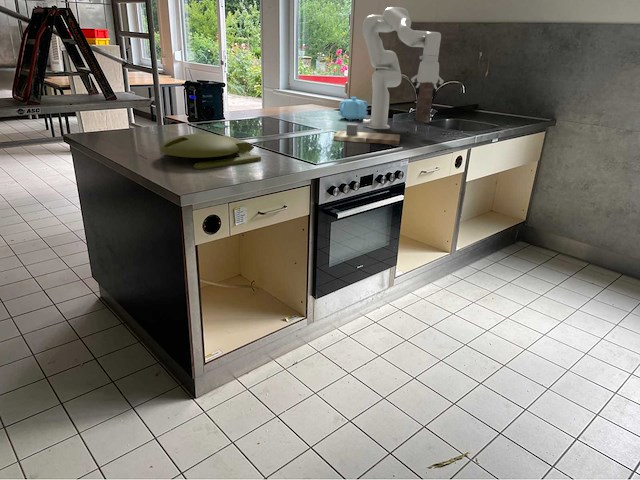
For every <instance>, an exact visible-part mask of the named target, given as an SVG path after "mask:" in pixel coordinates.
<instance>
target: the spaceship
mask: <svg viewBox="0 0 640 480" xmlns="http://www.w3.org/2000/svg"><path fill="white" fill-rule="evenodd" d="M254 148H255V146H254V145H252V144H251V143H250V142H247V141H244V140H241V139H238V138H235V137H232V136H229V135H227V134H225V135H220V134H219V135H217V134H211V133H190V134H184V135H179V136H175V137H172V138H169V139H168V140H166V141H164V142H163V143H162V144H161V145H160V147H159V150H160V152H161V153H162V154H164V155H165V156H167V157H181V158H195V159H196V158H197V159H198V158H202V159H203V158H216V157H223V156H228V155H229V156H231V157H230V158H229V157H227V158H221V159H216V160H209V161H207V160H206V161H200V162H196V163H194V164H193V168H194V169H195V170H200V171H201V170H207V169H215V168H222V167H228V166H234V165H236V166H237V165H243V164H249V163H255V162H260V161H261V160H262V156H260V155H258V154H251V153H250V152H251V151H252V150H253V149H254ZM232 156H233V157H232ZM235 156H236V157H235Z"/></svg>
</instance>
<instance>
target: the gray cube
mask: <svg viewBox="0 0 640 480" xmlns="http://www.w3.org/2000/svg"><path fill="white" fill-rule="evenodd" d="M358 127H359V124H358V123H349V122H347V124H346V130H345V131H346V135H355V136H356V135H357V132H358Z"/></svg>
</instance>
